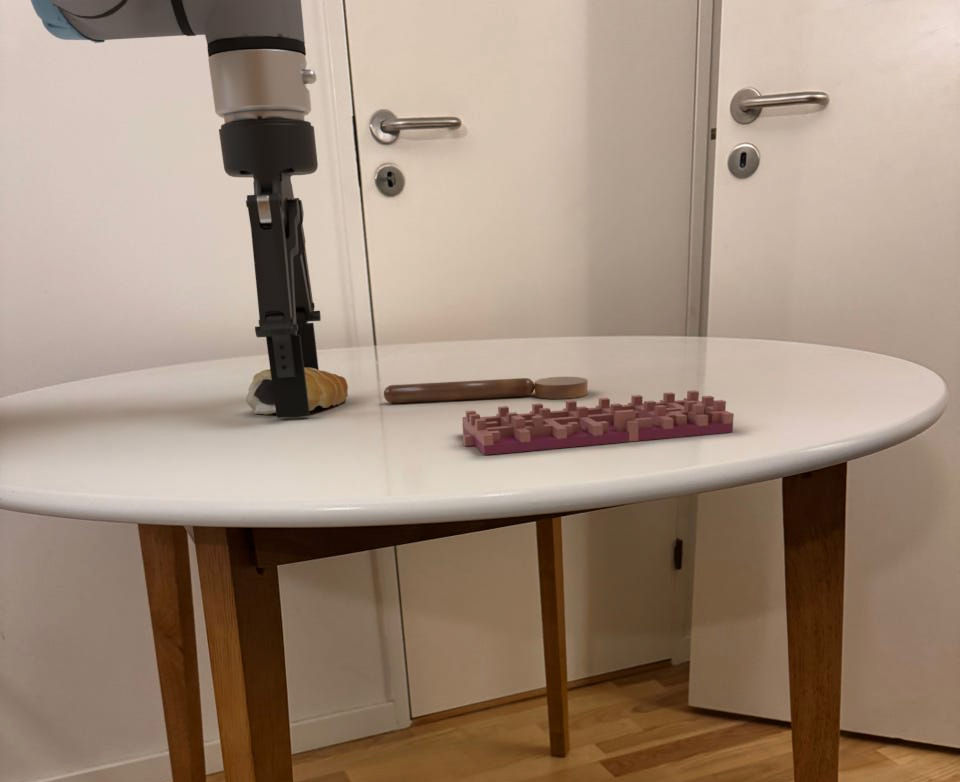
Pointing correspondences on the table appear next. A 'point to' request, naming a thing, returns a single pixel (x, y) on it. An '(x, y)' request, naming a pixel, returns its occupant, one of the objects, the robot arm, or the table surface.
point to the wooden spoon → (488, 389)
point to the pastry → (319, 390)
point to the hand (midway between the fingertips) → (300, 405)
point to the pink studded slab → (596, 424)
